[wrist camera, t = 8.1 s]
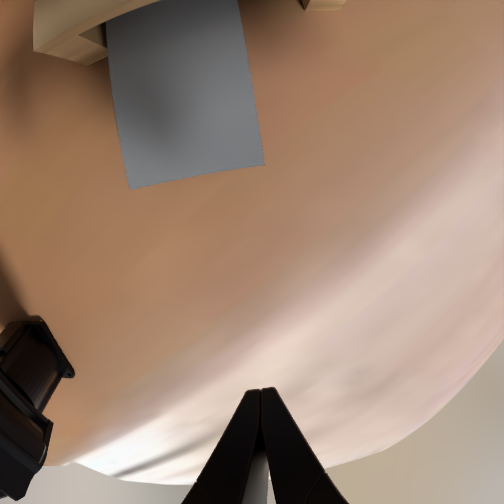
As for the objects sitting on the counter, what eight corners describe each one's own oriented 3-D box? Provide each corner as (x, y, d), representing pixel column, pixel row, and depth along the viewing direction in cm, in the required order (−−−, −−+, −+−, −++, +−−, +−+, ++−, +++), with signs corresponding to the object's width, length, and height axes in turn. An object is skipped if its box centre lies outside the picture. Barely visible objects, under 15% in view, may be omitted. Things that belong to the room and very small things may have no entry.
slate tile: (262, 160, 16) (264, 164, 14) (144, 181, 16) (129, 189, 14) (227, -42, 10) (225, -61, 8) (120, -14, 11) (105, -28, 9)
